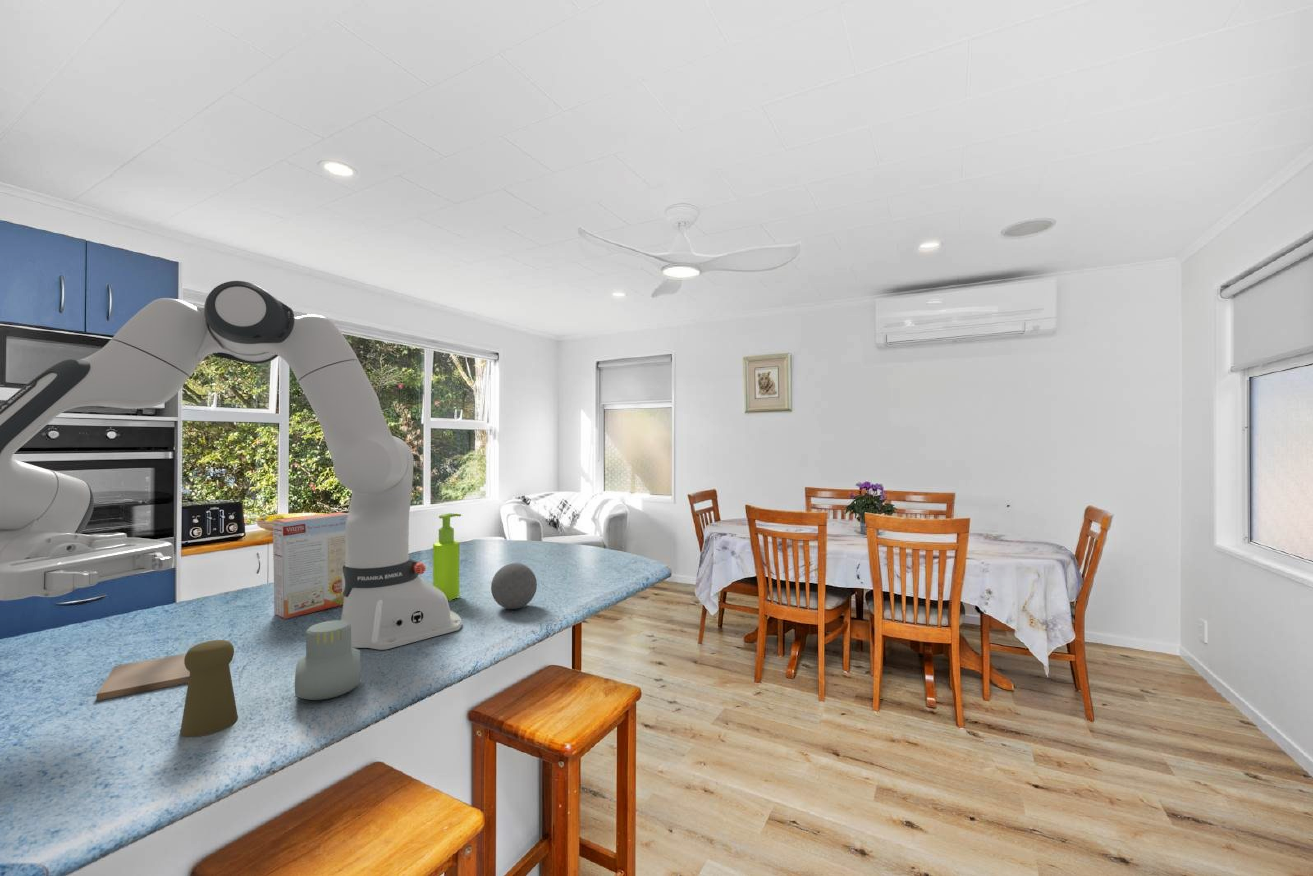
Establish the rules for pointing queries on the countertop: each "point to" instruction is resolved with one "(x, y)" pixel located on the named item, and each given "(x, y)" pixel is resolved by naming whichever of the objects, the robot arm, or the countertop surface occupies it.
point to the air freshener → (327, 662)
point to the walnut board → (144, 676)
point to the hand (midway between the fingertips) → (131, 571)
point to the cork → (209, 689)
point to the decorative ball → (514, 586)
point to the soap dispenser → (446, 560)
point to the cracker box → (308, 563)
